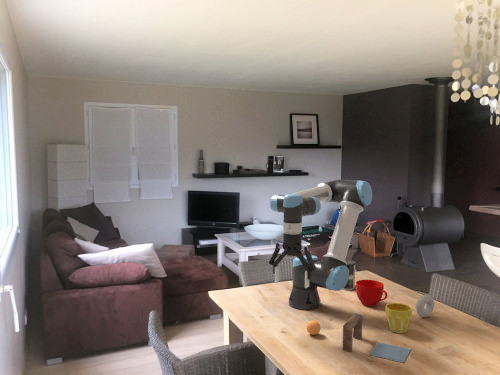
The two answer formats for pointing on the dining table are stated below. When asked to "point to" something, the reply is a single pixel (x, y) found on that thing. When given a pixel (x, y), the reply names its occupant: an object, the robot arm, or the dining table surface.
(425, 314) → the donut
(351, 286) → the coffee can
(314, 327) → the ball
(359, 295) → the ceramic cup
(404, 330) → the plant pot
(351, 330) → the bridge
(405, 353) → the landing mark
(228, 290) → the dining table surface
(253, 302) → the dining table surface
